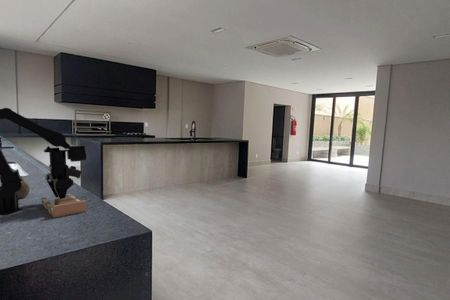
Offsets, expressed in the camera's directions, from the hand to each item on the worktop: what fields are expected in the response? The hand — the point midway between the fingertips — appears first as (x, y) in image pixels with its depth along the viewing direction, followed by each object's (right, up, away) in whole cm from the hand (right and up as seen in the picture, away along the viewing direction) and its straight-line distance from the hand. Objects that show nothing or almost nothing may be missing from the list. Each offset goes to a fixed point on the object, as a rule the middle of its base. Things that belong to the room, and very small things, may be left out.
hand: (59, 199), depth 114 cm
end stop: (+11, -3, -11) cm, 16 cm away
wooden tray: (+3, -2, -3) cm, 5 cm away
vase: (-23, -1, +9) cm, 25 cm away
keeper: (+6, -3, -7) cm, 10 cm away
